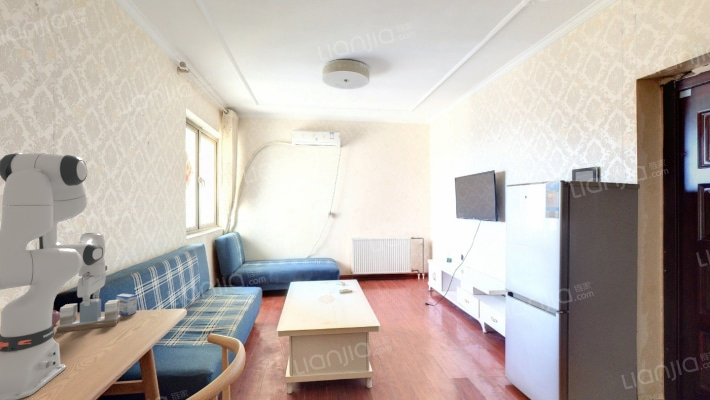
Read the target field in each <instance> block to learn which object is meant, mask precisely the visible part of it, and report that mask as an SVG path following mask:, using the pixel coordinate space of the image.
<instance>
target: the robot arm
mask: <svg viewBox="0 0 710 400" xmlns="http://www.w3.org/2000/svg"><path fill="white" fill-rule="evenodd" d="M0 177H1V179H2V180H3V181H4V182H5V184H4V188H3V194H2V201H1V203H2V204H1V206H2V207H1V209H2V210H1V211H2V212H1V223H0V291H1V290H8V289H14V288H21V287H26V286H27V287H28V286H29V288H28V290H27V291H26V292H25V293H24V294H22V295H20V296H18V297H17V298H15V299H12V300H11V301H9V302H8V303H7V304H5V306H4V307H3V308H2V310H1V312H0V400H20V399H23V398H27V397H28V396H31V395H33V394H35V393H36V392H37V391H38V390H40V389H41V388H42V387H43V386H45V385H46V384H47V383H49V382H50V381H51V380H53V379H54V378H56V376H57V375H59V374H60V373H62V372H63V371H64V370H66V369H67V367H66V364H64V363H61V352H60V343H59V342H57V341H56V340H55V339H54V336H55V335H54V334H55V333H54V332H55V325H53V324H52V312H53V310H54V302H55V299H56V297H57V295H58V294H59V292H60V290H61V289H62V288H63V286H64V285H65V284H67V282H69V281H70V280H71V279H72V278H74V277H75V276H77V275H78V276H79V277H81V278H79V280H78V283H77V287H76V288H77V289H76V290H77V291H76V296H77V298H78V299H79V298H82V302H83V301H84V306H89V305H90V304H91V301H90V299H91V295H92V299H100V293H101V288H103V287H104V286H105V284H106V279H107V271H108V265H107V264H106V260H105V254H106V244H105V243H106V241H105V237H104V235H103V233H99V232H97V233H95V232H88V233H87V232H86V233H82V234H81V235H80V238H79V242H73V243H72V242H71V243H62V242H60V241H59V240H58V224H59V223H60V222H64V221H67V220H69V219H73V218H75V217H76V216H79V215H80V214H81V213H83V212H84V211H85V209H86V208H87V204H88V199H87V195H86V189H85V187H84V184H83V182H84V181H86V179H87V177H88V167H87V163H86V162H85V161H84V160H83V159H82V158H81V157H79V156H76V155H70V154H66V155H65V154H63V155H62V154H54V153H46V152H31V153H30V152H29V153H21V152H17V153H9V154H6V155H4V156H3V157H2V158H1V159H0ZM36 239H39V240H38V243H39V244H38V246H39V247H38V249H37V248H36V249H27V246H28V244H30V242H31V241H34V240H36ZM57 377H58V376H57Z"/></svg>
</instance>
